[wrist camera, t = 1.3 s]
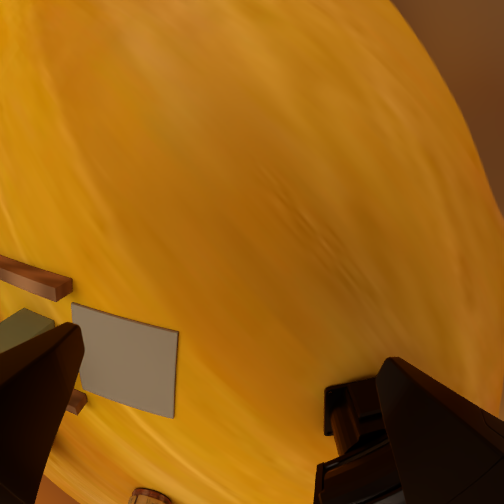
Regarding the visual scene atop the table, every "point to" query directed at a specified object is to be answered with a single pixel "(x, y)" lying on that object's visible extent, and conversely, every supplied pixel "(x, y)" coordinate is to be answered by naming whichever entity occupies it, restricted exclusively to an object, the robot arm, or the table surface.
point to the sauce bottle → (147, 497)
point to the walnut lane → (45, 287)
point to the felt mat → (128, 360)
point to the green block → (22, 328)
